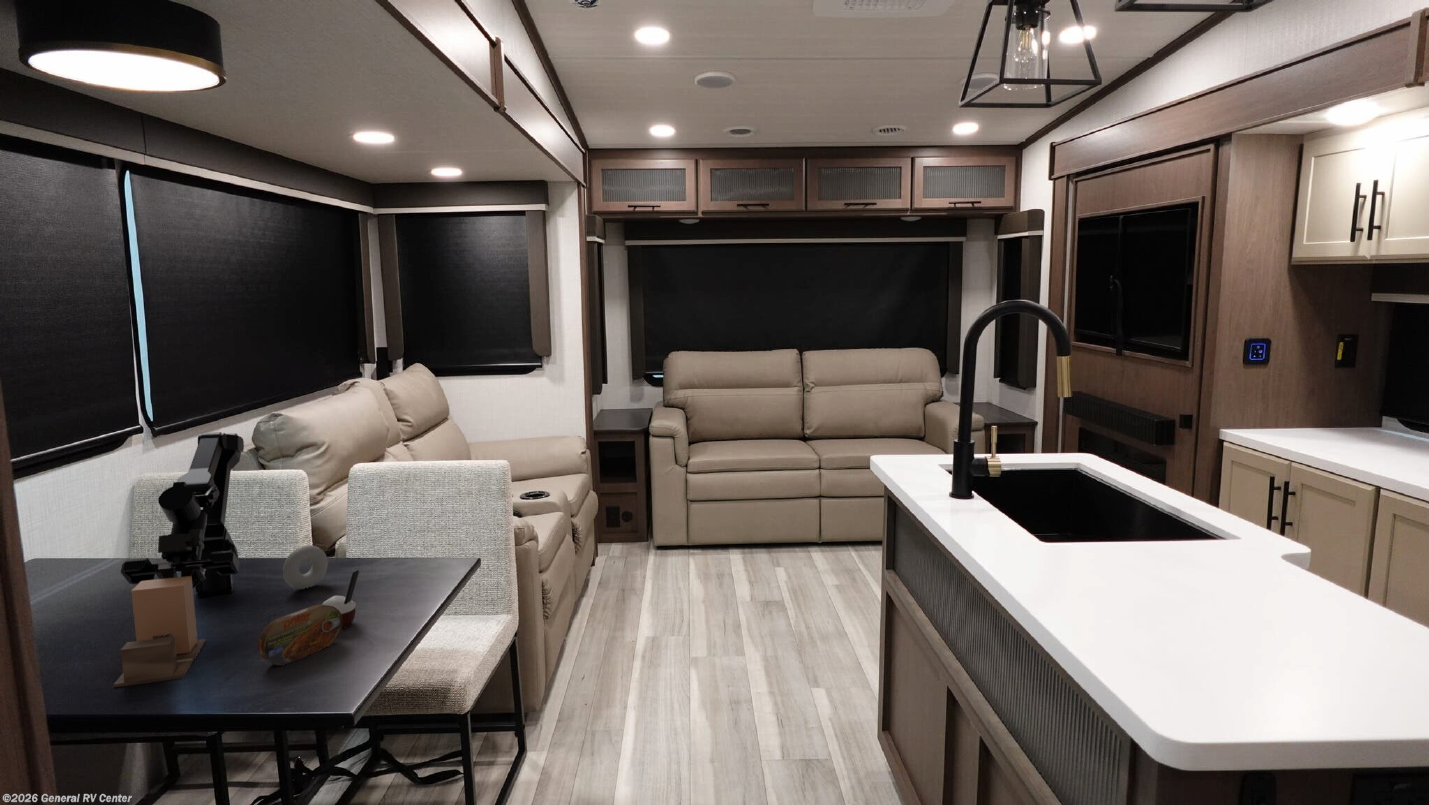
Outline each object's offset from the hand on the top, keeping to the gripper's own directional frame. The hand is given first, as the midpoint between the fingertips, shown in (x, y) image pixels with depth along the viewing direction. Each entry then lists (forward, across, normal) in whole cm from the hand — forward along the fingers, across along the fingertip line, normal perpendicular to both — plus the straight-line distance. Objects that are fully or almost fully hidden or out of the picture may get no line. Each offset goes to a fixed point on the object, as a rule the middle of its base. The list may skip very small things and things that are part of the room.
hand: (175, 607), depth 148 cm
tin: (+15, +23, -4) cm, 28 cm away
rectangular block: (+9, 0, +1) cm, 9 cm away
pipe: (+10, 0, -3) cm, 10 cm away
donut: (-11, +19, +21) cm, 30 cm away
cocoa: (+7, +29, +4) cm, 30 cm away
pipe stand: (+12, 0, -2) cm, 12 cm away
